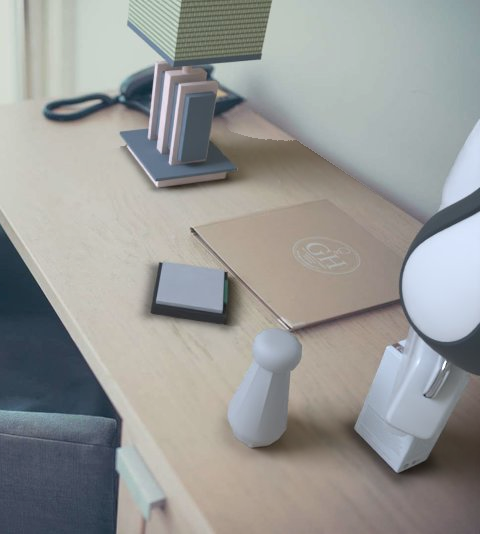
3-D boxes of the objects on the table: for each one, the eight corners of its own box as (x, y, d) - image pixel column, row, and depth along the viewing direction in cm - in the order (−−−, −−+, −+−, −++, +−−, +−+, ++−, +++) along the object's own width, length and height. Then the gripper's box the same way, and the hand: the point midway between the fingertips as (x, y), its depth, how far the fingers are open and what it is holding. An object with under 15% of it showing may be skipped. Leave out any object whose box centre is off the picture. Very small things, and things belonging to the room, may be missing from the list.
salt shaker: (291, 452, 63) (325, 360, 55) (235, 459, 62) (262, 367, 54) (267, 405, 68) (296, 314, 60) (216, 412, 67) (238, 320, 59)
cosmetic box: (428, 460, 63) (478, 376, 56) (394, 476, 61) (442, 392, 54) (380, 414, 67) (421, 330, 60) (348, 428, 66) (386, 344, 58)
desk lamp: (237, 183, 104) (281, -33, 84) (156, 195, 101) (182, -29, 80) (189, 134, 118) (218, -63, 98) (117, 142, 114) (131, -60, 94)
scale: (226, 278, 85) (228, 268, 83) (224, 324, 78) (226, 313, 76) (158, 269, 86) (159, 258, 85) (150, 313, 79) (151, 302, 78)
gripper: (499, 381, 43) (423, 494, 52) (516, 233, 57) (453, 342, 66) (402, 344, 46) (344, 458, 54) (440, 210, 60) (389, 318, 68)
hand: (404, 393), depth 60 cm, fingers open, 8 cm apart
